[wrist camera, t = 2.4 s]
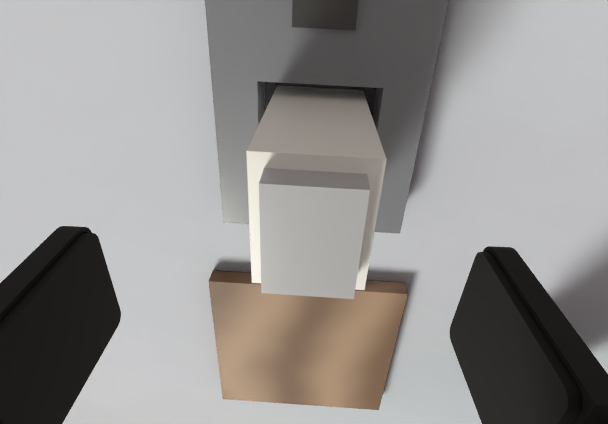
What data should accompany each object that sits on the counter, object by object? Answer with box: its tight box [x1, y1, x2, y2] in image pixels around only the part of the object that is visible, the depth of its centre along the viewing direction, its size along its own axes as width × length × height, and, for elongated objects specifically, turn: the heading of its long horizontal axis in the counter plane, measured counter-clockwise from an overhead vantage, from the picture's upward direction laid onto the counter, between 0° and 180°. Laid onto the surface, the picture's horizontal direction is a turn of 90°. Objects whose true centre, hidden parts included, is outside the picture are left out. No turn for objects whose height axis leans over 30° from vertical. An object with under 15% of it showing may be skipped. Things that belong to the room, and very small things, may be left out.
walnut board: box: [209, 271, 408, 410], centre depth 26 cm, size 12×12×1 cm
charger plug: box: [246, 86, 387, 299], centre depth 15 cm, size 4×5×9 cm
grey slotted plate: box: [205, 0, 449, 233], centre depth 16 cm, size 9×16×2 cm, turn 178°
